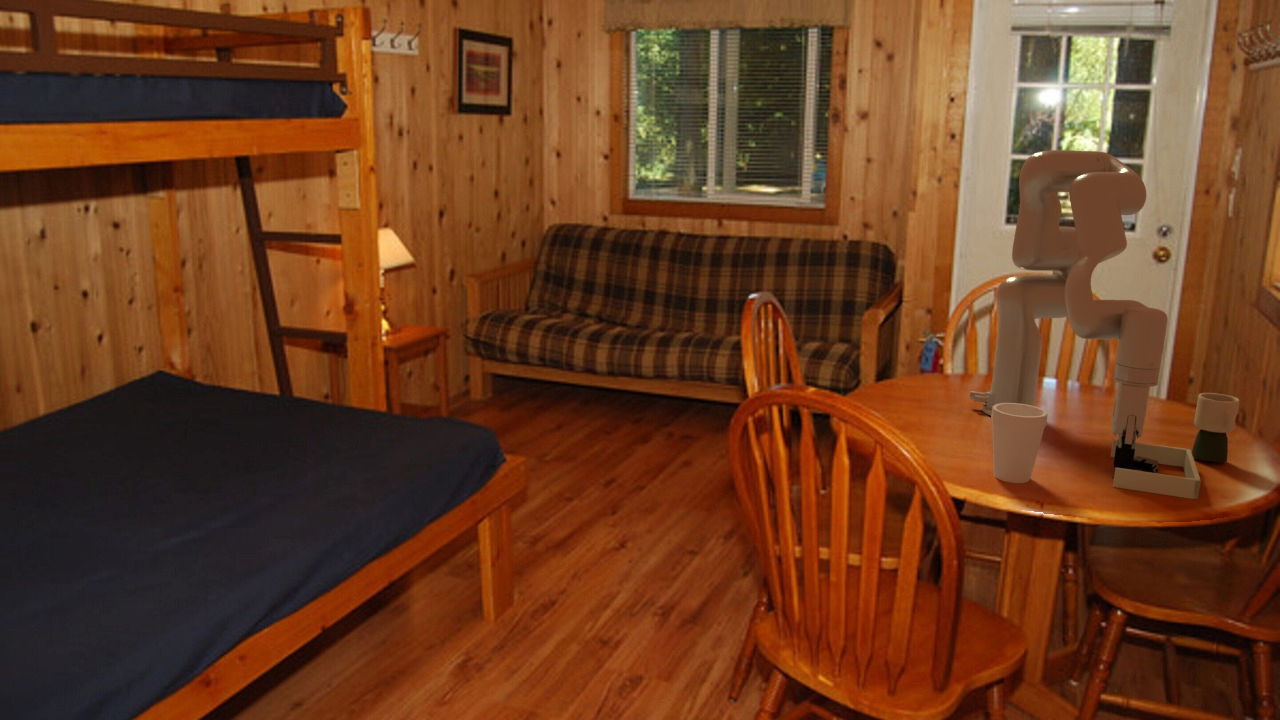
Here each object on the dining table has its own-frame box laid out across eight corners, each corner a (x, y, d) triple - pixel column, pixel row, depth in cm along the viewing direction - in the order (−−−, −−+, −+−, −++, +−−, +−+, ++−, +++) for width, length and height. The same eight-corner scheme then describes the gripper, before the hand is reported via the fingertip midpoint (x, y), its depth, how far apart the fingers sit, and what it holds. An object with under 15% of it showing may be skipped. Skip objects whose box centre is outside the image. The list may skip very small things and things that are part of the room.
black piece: (1099, 479, 187) (1102, 455, 186) (1113, 470, 192) (1116, 447, 191) (1171, 497, 178) (1175, 472, 177) (1183, 487, 183) (1187, 463, 182)
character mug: (1242, 470, 192) (1253, 405, 188) (1204, 469, 192) (1215, 404, 189) (1212, 452, 202) (1222, 390, 199) (1176, 451, 202) (1186, 389, 199)
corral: (1113, 486, 181) (1115, 468, 180) (1110, 455, 198) (1113, 439, 197) (1197, 499, 175) (1200, 480, 175) (1187, 466, 193) (1190, 449, 192)
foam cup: (996, 485, 180) (1004, 416, 177) (977, 468, 189) (984, 402, 186) (1047, 486, 180) (1056, 417, 177) (1026, 469, 189) (1034, 403, 186)
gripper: (1113, 363, 192) (1100, 453, 197) (1115, 380, 179) (1101, 476, 183) (1156, 368, 190) (1142, 459, 194) (1161, 385, 176) (1146, 483, 180)
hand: (1122, 467), depth 189 cm, fingers closed
